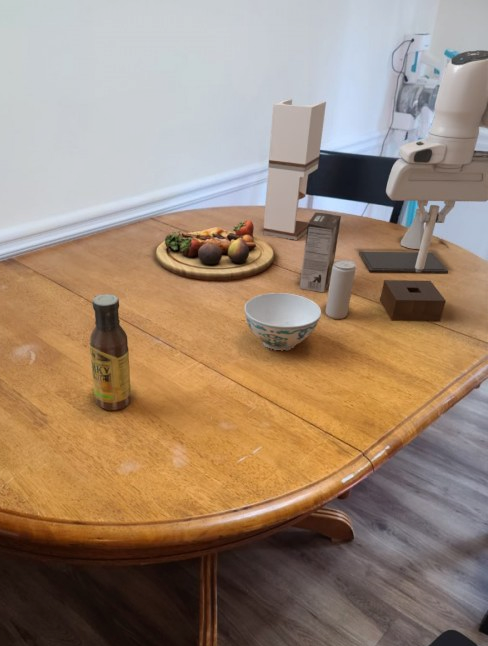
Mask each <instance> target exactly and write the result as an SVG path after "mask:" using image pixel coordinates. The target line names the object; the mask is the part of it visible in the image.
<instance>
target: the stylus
mask: <svg viewBox="0 0 488 646" xmlns="http://www.w3.org/2000/svg"><path fill="white" fill-rule="evenodd" d="M438 212H440V206H439V205H438V204H437V205H436V204H431V205H430V206H429V209H428V213H429V214H430V218H429V222H428V223H425V224H424V233H423V237H422V241H421V245H420V249H418V252H419V253H418V257H417V261H416V265H415V268H416V272H421V271H422V269H424V266H425V262H426V258H427V254H428V252H429V249H430V246H431V243H432V239H433V234H434V231H435V226H436V224H437V223H436V219H437V215H438Z"/></svg>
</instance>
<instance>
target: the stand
mask: <svg viewBox="0 0 488 646" xmlns="http://www.w3.org/2000/svg"><path fill="white" fill-rule="evenodd" d="M379 301H380V303H381V304H382V306H383V308H384V311H385V312H386V314H387V315H388V317H389V319H390V321H391V322H440V323H441V319H442V317H443V314H444V309H445V306H446V302H447V299H446V298H444V296H443V294H442V293H441V292H440V291H439V290H438V288H437V287H436V285H434V283H433V282H432V281H431V280H410V279H409V280H404V279H403V280H401V279H398V280H397V279H384V280H383V284H382V288H381V292H380V297H379Z"/></svg>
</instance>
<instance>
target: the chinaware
mask: <svg viewBox="0 0 488 646" xmlns="http://www.w3.org/2000/svg"><path fill="white" fill-rule="evenodd" d="M320 307H321V306H319V305H318V304H317V303H316V302H315V301H313V300H311V299H309V298H307V297H305V296H301V295H298V294H293V293H287V292H267V293H262V294H258V295H256V296H253V297H251V298H249V299H248V301H246V302H245V304H244V316H245V319H246V322H247V323H246V324H247V325H248V327H249V329H250V331H251V332H252V334H253V335H254V336H255V337H256V338H257V339H258V340H260V341H261V342H262V344H263V346H264V347H266V348H267V347H268V348H267V349H269V348H271V349H270V350H272V349H274V350H273V351H276V350H281V351H280V352H284V351H283V350H286V351H290V350H292V349H294V348H295V347H296V345H298V344H300V343H302V342H303V341H304V340H306V339H308V337H309V336H310V335H311V334H312V333H313V332H314V330H315V329H316V327H317V325H318V324H319V322H320V318H321V317H322V310H321V308H320ZM291 348H292V349H291Z"/></svg>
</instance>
